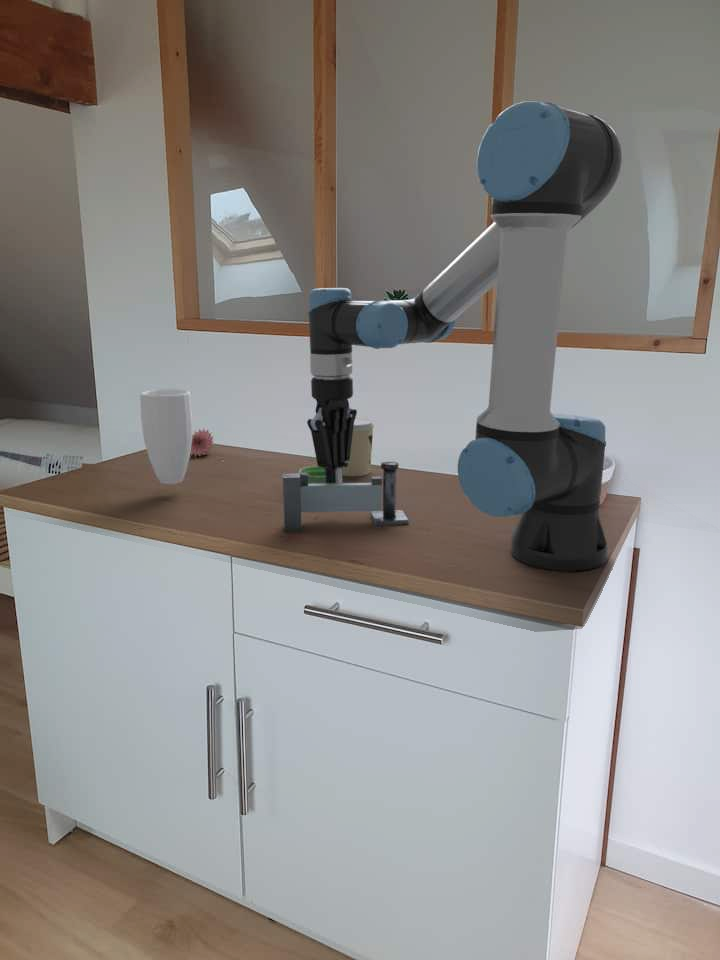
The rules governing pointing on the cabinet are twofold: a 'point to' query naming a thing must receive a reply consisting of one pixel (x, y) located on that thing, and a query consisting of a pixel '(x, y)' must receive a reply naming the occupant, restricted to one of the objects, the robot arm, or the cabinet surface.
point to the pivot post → (389, 498)
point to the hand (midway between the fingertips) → (334, 500)
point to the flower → (201, 443)
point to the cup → (167, 432)
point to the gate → (341, 496)
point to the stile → (292, 502)
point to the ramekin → (315, 474)
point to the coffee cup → (360, 449)
